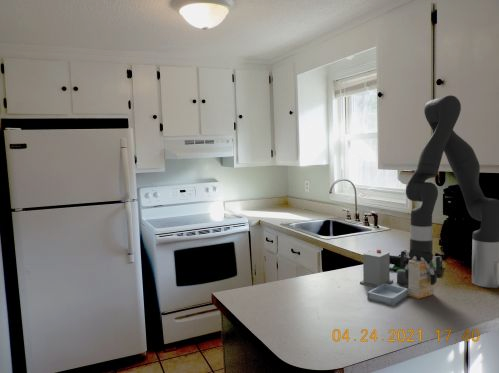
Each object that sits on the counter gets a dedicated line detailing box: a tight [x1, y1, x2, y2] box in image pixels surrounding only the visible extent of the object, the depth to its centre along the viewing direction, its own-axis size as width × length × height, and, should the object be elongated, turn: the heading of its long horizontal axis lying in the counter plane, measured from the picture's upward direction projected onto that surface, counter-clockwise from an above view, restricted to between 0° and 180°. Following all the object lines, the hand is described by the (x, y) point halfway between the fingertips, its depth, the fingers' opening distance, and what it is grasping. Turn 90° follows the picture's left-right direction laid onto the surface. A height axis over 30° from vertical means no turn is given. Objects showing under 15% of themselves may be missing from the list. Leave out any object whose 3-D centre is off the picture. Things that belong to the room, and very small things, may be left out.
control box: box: [359, 249, 394, 288], centre depth 158 cm, size 9×10×13 cm
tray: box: [366, 283, 409, 306], centre depth 143 cm, size 9×12×2 cm
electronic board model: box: [368, 250, 444, 271], centre depth 177 cm, size 30×7×15 cm
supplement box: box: [407, 259, 435, 300], centre depth 144 cm, size 8×5×13 cm, turn 118°
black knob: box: [396, 269, 409, 286], centre depth 157 cm, size 4×4×5 cm
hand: (420, 281), depth 144 cm, fingers open, 8 cm apart
